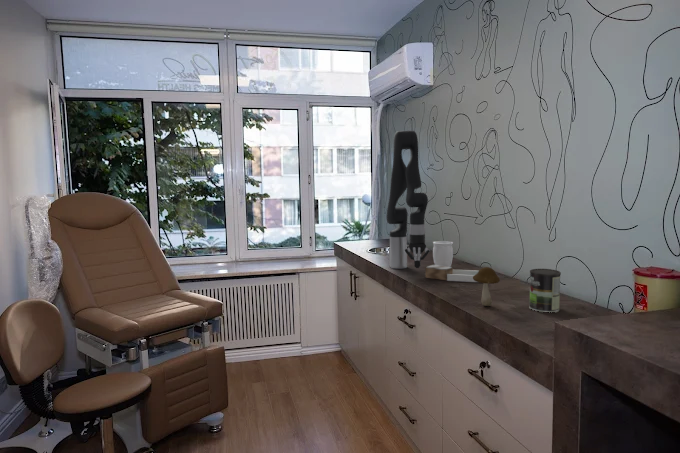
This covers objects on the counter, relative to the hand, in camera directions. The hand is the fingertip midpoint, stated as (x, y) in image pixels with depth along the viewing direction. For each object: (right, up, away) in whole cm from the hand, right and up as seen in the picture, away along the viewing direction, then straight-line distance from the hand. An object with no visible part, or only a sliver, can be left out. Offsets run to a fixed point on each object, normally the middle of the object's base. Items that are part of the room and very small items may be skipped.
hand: (417, 267), depth 226 cm
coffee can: (+37, -10, -59) cm, 70 cm away
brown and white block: (+10, -5, -3) cm, 11 cm away
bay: (+22, -5, -7) cm, 23 cm away
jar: (+16, -3, +15) cm, 22 cm away
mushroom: (+17, -10, -53) cm, 57 cm away
